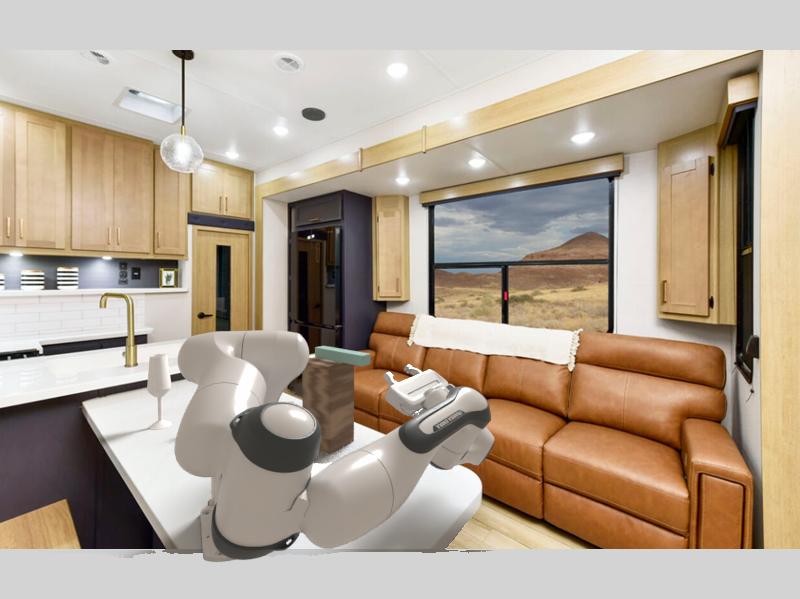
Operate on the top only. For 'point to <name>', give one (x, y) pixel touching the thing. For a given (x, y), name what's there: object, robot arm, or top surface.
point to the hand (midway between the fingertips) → (396, 370)
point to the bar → (343, 355)
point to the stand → (330, 400)
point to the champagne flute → (159, 385)
